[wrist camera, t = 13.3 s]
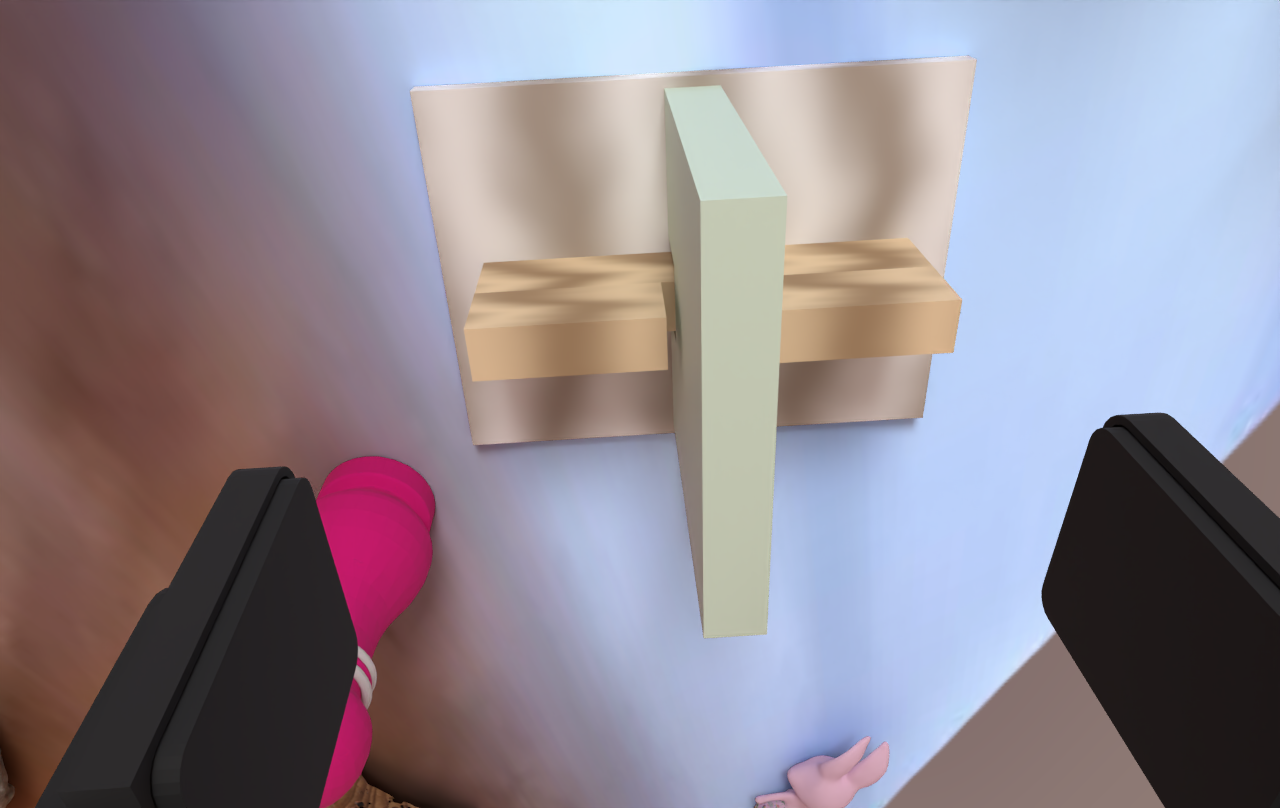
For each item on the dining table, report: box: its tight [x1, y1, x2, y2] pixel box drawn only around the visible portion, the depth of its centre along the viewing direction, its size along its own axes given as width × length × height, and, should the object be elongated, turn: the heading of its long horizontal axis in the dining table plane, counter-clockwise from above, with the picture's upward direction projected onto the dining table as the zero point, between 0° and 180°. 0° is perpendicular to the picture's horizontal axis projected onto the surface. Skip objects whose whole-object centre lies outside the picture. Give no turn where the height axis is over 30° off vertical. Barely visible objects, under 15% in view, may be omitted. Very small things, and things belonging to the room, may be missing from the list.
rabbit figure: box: [754, 736, 889, 808], centre depth 60 cm, size 6×6×15 cm
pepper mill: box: [316, 456, 435, 808], centre depth 40 cm, size 7×7×20 cm
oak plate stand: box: [410, 56, 977, 445], centre depth 38 cm, size 24×18×8 cm
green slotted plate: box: [664, 85, 787, 638], centre depth 34 cm, size 17×2×15 cm, turn 2°
